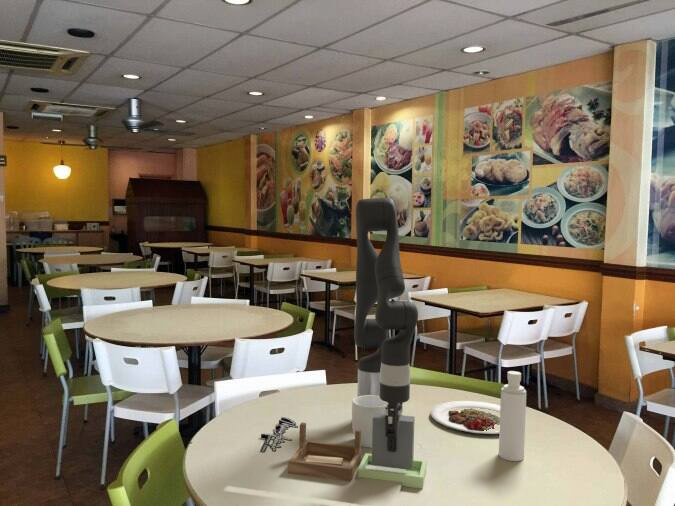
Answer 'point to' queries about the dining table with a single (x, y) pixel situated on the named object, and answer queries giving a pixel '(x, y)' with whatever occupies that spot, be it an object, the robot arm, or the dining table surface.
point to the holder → (396, 473)
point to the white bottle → (512, 419)
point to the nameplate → (278, 434)
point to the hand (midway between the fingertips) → (393, 447)
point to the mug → (366, 415)
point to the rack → (313, 448)
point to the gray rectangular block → (404, 443)
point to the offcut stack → (325, 460)
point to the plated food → (467, 416)
